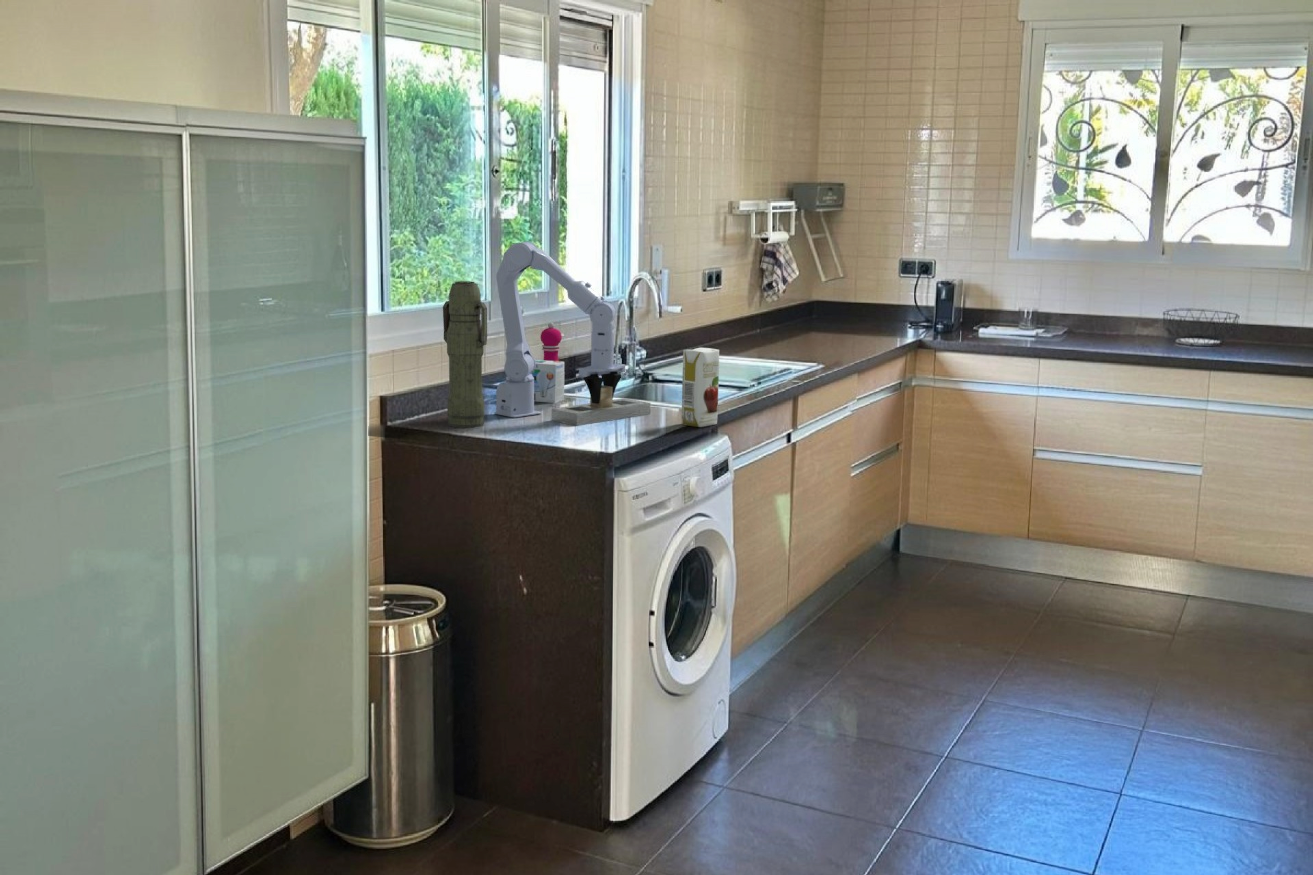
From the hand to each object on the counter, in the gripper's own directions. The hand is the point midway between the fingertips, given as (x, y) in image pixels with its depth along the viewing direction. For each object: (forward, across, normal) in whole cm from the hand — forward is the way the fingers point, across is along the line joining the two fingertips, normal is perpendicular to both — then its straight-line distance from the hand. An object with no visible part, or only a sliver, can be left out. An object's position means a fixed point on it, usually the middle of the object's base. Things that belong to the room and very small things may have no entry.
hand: (601, 402), depth 335 cm
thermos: (+4, -33, +14) cm, 36 cm away
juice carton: (+4, +12, -23) cm, 26 cm away
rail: (+4, 0, 0) cm, 4 cm away
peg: (+2, 0, 0) cm, 2 cm away
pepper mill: (+4, +17, +39) cm, 43 cm away
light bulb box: (+4, +6, +30) cm, 31 cm away
